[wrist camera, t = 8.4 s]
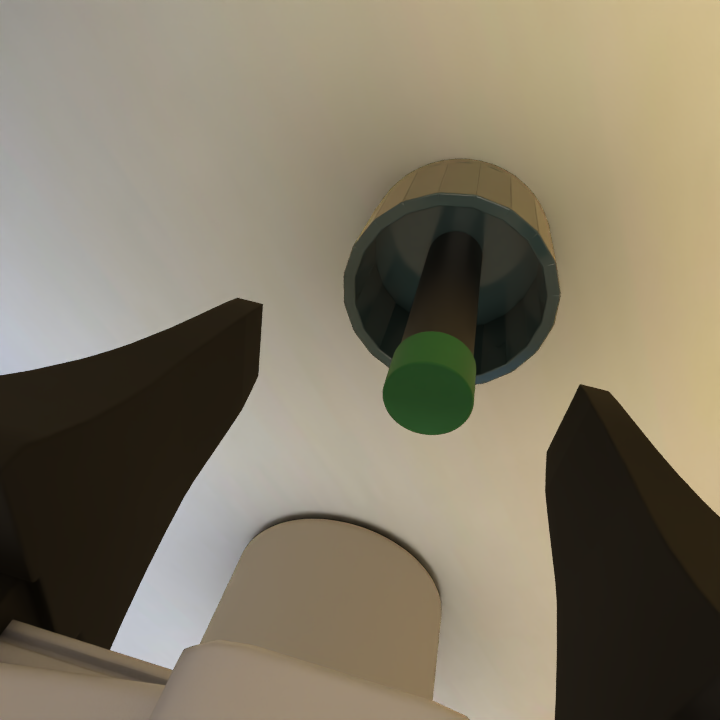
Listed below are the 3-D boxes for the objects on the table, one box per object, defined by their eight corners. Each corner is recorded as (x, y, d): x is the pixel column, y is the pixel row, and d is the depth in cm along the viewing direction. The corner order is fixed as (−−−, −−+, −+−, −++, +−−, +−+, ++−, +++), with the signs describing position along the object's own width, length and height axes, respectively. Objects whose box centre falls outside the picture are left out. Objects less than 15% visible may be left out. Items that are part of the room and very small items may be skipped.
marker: (444, 293, 22) (413, 447, 14) (414, 247, 21) (364, 384, 14) (496, 266, 21) (490, 417, 13) (465, 216, 20) (442, 347, 12)
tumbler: (428, 353, 24) (415, 413, 21) (335, 222, 22) (303, 265, 18) (582, 280, 21) (597, 336, 17) (493, 117, 18) (490, 145, 15)
